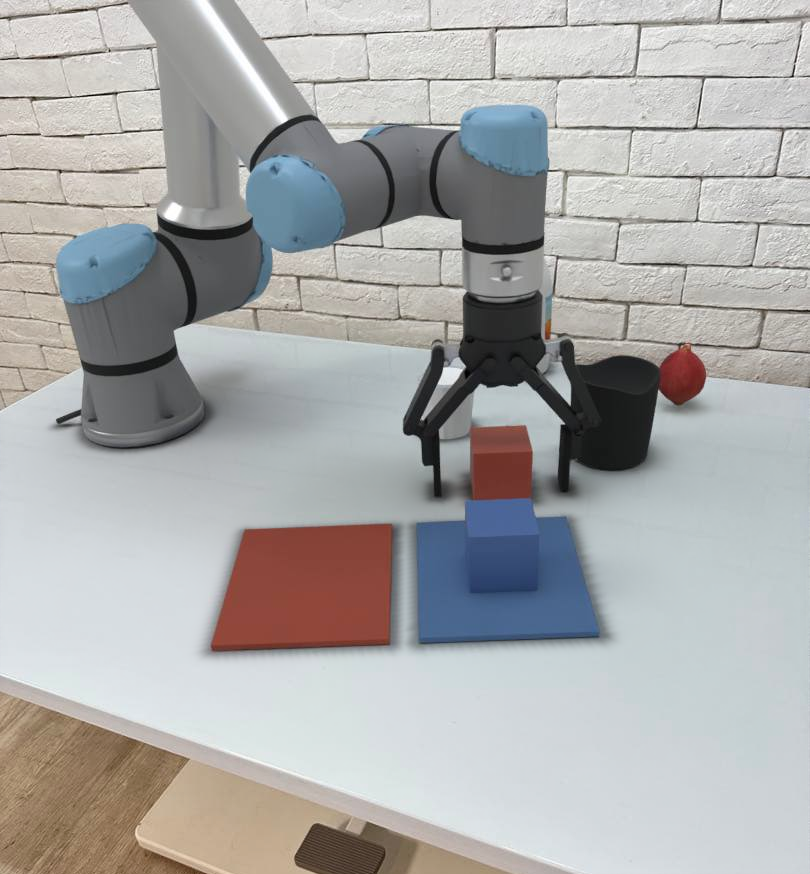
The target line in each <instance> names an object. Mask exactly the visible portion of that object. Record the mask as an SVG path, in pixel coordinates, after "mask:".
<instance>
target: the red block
mask: <svg viewBox="0 0 810 874" xmlns="http://www.w3.org/2000/svg"><path fill="white" fill-rule="evenodd" d="M533 455H534V451H533V447H532V443H531V439H530V436H529V431H528V428H527V425H526V424H522V425H521V424H520V425H519V424H518V425H500V426H497V425H495V426H476V427H475V426H474V427H472V426H471V428H470V431H469V479H470V485H471V495H472V501H475V500H499V499H523V498H531V499H532V483H533V460H534V459H533Z"/></svg>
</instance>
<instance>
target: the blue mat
mask: <svg viewBox="0 0 810 874" xmlns="http://www.w3.org/2000/svg"><path fill="white" fill-rule="evenodd" d="M536 521H537V526H538V530H539V534H540V536H539V558H538V580H537V590H532V591H506V592H480V593H470V592H469V584H468V574H467V564H466V553H465V520H443V521H418V522H416V553H417V554H416V555H417V557H416V558H417V559H416V561H417V604H418V607H417V609H418V610H417V611H418V643H419V644H427V643H429V644H430V643H459V642H483V641H484V642H486V641H507V640H508V641H509V640H510V641H511V640H536V639H563V638H564V639H566V638H567V639H568V638H591V637H592V638H593V637H596V638H597V637H600V627H599V625H598V621H597V617H596V614H595V611H594V607H593V604H592V601H591V597H590V594H589V590H588V586H587V584H586V579H585V577H584V573H583V571H582V566H581V563H580V560H579V557H578V556H579V555H578V553H577V550H576V547H575V546H576V545H575V543H574V540H573V536H572V532H571V528H570V526H569V522H568V519H567V516H565V515H564V516H545V517H544V516H543V517H536Z"/></svg>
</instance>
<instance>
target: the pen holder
mask: <svg viewBox="0 0 810 874" xmlns="http://www.w3.org/2000/svg"><path fill="white" fill-rule="evenodd" d="M575 364H576V366H577V368H578V370H579V372H580V374H581V377H582V379H583V381H584V383H585V385H586V387H587V389H588V392H589V394H590V396H591V398H592V400H593V402H594V404H595V407H596V409H597V411H598V413H599V415H600V418H601V421H602V422H601V425H600V426H598V427H589V428H587V429H585V433H584V435H583V436H582V442H581V455H580V457H579V459H575V460H576V461H578V462H579V463H581V464H582V465H584V466H587V467H590V468H594V469H598V470H605V471H606V470H607V471H619V470H626V469H631V468H634V467H635V466H638V465H639V464H641V463H642V462H643V461H644V460H645V459H646V457H647V456H648V454H649V453H648V452H649V448H650V442H651V436H652V431H653V426H654V420H655V413H656V406H657V401H658V395H659V384H660V378H661V370H660V369H659V367H660V366H658V365H657V364H656V363H654V362H652V361H650V360H648V359H645V358H642V357H638V356H634V355H633V356H632V355H626V354H619V355H612V356H609V357H607V358H604V359H601V360H599V361H597V362H593V363H589V364H582V363H575ZM570 406H571V407H572V408H573V410H574V411H575V412H576V413H577V414H579V413H581V412H584V411H583V409H582V406H581V404H580V402H579V400H578V398H577V396H576V394H575V392H574V390H573V388H572V385H571V384H570Z"/></svg>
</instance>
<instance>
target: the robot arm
mask: <svg viewBox="0 0 810 874" xmlns="http://www.w3.org/2000/svg"><path fill="white" fill-rule="evenodd" d="M125 1H126V3H127V4H128V5H129V7H130V8H131V9H132V11H133V13H134V14H135V15H136V16H137V18H138V19H139V21H140V22H141V24H142V25H143V26H144V27H145V29H146V30H147V32H148V33H149V34H150V36H151V37H152V38H153V40H154V41H155V49H156V61H157V75H158V86H159V97H160V109H161V110H160V111H161V122H162V123H161V124H162V135H163V145H164V146H163V147H164V148H163V149H164V161H165V171H166V172H165V174H166V185H167V193H166V194H165V195H164V196H163V197H162V198H161V199H160V200H159V201H158V202H157V204H156V219H157V230H155V231H153V230H152V228H150V227H148V226H147V225H145V224H142V223H119V224H116V225H112V226H110V227H109V226H104V227H99V228H97V229H93V230H89V231H88V232H85V233H83V234H81V235H78V236H77V237H74V238H72V239H71V240H69V241H68V242H66V243H65V244H64V245H63V246H62V247H61V248H60V249H59V251H58V253H57V255H56V258H55V269H56V275H57V281H58V286H59V287H58V289H59V294H60V298H61V299H62V300H63V302H64V303H63V304H64V307H65V311H66V315H67V319H68V322H69V326H70V328H71V333H72V336H73V339H74V342H75V346H76V351H77V354H78V356H79V357H78V358H79V361H80V365H81V368H82V372H83V381H82V382H83V383H82V395H81V406H80V407H81V408H80V409H77V410H75V411H72V412H70V413H67V414H64V415H63V416H62V415H61V416H60V417H57V418H56V419H55V422H56V424H57V425H60V424H63V423H65V422H67V421H70V420H73V419H75V418H78V417H80V421H81V422H80V423H81V426H82V429H83V432H84V435H85V437H86V438H87V439H88V440H89V441H91V442H92V443H95V444H98V445H101V446H106V447H113V448H135V447H144V446H150V445H155V444H159V443H163V442H166V441H170V440H173V439H176V438H178V437H180V436H182V435H185V434H186V433H188V432H190V431H191V430H192V429H194V428H195V427H197V426H198V425H200V423H201V421H202V420H203V419H204V417H205V406H204V402H203V397H202V394H200V391H199V390H198V388H197V387H196V384H195V383H194V380H193V379H192V377H191V376H190V373H188V370H187V368H186V367H185V364H184V363H183V362H182V359H180V355H179V352H178V346H177V342H176V337H175V335H176V334H175V331H176V330H178V329H181V328H183V327H187V326H190V325H192V324H195V323H198V322H200V321H203V320H207V319H209V318H212V317H215V316H219V315H220V314H223V313H225V312H226V313H230V312H234V311H236V310H239V309H242V307H244V306H245V305H247V304H249V303H252V302H253V301H256V300H257V299H258V298H259V297H261V296H262V295H263V294H264V293H265V291H266V290H267V288H268V286H269V284H270V281H271V278H272V273H273V267H274V266H273V264H274V257H273V256H274V255H273V250H275V251H276V252H279V253H283V254H296V253H301V252H307V251H311V250H316V249H324V248H326V247H330V246H332V245H333V244H334V243H336V242H339V241H342V240H345V239H348V238H350V237H354V236H356V235H360V234H362V233H364V232H368V231H375V230H378V229H380V228H381V229H382V228H384V227H387V226H389V225H393V224H397V223H399V222H403V221H405V220H409V219H412V218H415V217H433V218H440V219H448V220H453V221H454V220H455V221H461V223H460V224H461V225H460V226H461V278H462V279H461V280H462V282H461V283H462V288H463V289H464V290H465V291H466V292H465V293H464V294H463V295H462V338H461V341H460V342H459V343H458V344H457V343H444V341H443V340H442V339H439V338H436V339H434V340H433V341H432V342H431V348H430V359H429V360H430V361H429V363H428V365H427V367H426V369H425V370H426V371H425V373H424V375H423V378H422V380H421V382H420V384H419V383H418V386H417V388H416V390H415V392H414V394H413V396H412V400H411V401H410V403H409V405H408V408H407V410H406V412H405V414H404V416H403V418H402V431H403V432H402V433H403V435H405V436H407V437H411V436H415V437H417V438H418V439H419V440H420V449H421V463H422V465H423V467H432V475H433V476H432V477H433V479H432V480H433V496H434V497H442V475H441V474H442V471H441V469H442V468H441V441H440V440H441V439H439V429H440V428H441V427H442V426H443V424H444V423H445V422H446V421H447V420H448V418H449V417H450V416H451V415H452V414H453V413H454V411H455V410H456V409H457V408H458V407H459V406H460V404H461V403H462V402H463V401H464V400H465V399H466V397H467V396H468V395H469V394H471V393H473V392H474V393H475V391H476V389H477V388H478V387H479V386H480V385H482V386H485V387H486V389H491V388H498V387H500V386H504V387H509V388H514V387H519V385H520V384H522V383H524V382H526V383H527V385H528V386H529V387H530V388H531V389H532V390H533V391H534V392H536V393H537V395H539V397H540V398H541V399H542V400H543V401H544V402H545V403H546V405H547V406H548V407H549V408H550V409H551V410H552V411H553V412H554V413H555V415H556V416H557V417H558V418H559V419H560V420H561V421H562V423H563V424H561V423H560V426H559V427H560V429H559V443H558V446H559V447H558V463H557V464H558V465H557V482H558V485H559V488H560V491H561V492H569V489H570V487H569V486H570V472H571V461H572V460H576V459H579V457H580V455H581V442H582V436H583V435H584V433H585V429H587V428H589V427H598V426H600V425H601V422H602V421H601V418H600V415H599V413H598V411H597V409H596V407H595V404H594V402H593V400H592V398H591V396H590V394H589V392H588V389H587V387H586V385H585V383H584V381H583V379H582V377H581V374H580V372H579V370H578V368H577V366H576V364H577V363H576V355H575V345H574V343H573V342H574V341H573V340H572V338H571V336H570V334H568V333H567V332H563V333H560V334H559V335H558V337H556V338H551V339H549V340H543V339H542V336H541V327H542V301H543V296H542V294H541V293H540V291H539V289H540V288H541V287H542V285H543V267H544V259H545V234H546V232H545V224H546V223H545V221H546V206H547V205H546V202H547V188H548V176H549V175H548V174H549V170H550V158H549V157H550V156H549V143H548V142H549V140H548V138H549V135H548V130H549V128H548V119H547V116H546V114H545V112H544V111H543V110H541V109H540V108H539V107H536V106H534V105H527V104H494V105H483V106H478V107H472V108H469V109H467V110H466V111H464V112H463V114H462V116H461V118H460V126H459V130H455V129H454V130H453V129H443V128H442V129H441V128H431V127H420V126H419V127H418V126H412V125H411V126H410V125H409V124H406V123H405V124H404V123H403V124H402V123H398V124H395V125H377V126H374V127H372V128H370V129H368V130H367V131H366V132H365V134H364V135H363V136H362V137H361V138H360V139H354V140H350V141H346V142H340V143H338V142H337V141H336V140H335V139H334V137H333V136H332V134H331V133H330V131H329V130H328V128H327V127H326V125H324V123H323V122H322V121H321V119H320V118H319V117H318V116H317V114H316V113H315V111H314V110H313V108H312V107H311V105H309V102H308V101H307V100H306V99H305V97H304V96H303V94H302V93H301V91H300V90H299V89H298V87H297V86H296V84H295V83H294V82H293V81H292V79H291V78H290V76H289V75H288V73H287V72H286V71H285V69H284V67H282V65H281V64H280V62H279V61H278V59H277V58H276V57H275V55H274V54H273V52H272V51H271V50H270V48H269V47H268V45H267V44H266V42H265V41H264V40H263V39H262V37H261V36H260V34H259V33H258V31H257V30H256V29H255V27H254V26H253V24H252V23H251V22H250V20H249V19H248V17H247V16H246V15H245V13H244V12H243V10H242V9H241V8H240V7H239V5H238V3H237V2H236V0H125ZM240 161H241V162H242V164H243V165H244V166H245V168H246V169H247V171H248V172H249V173H250V174H249V175H248V178H247V180H246V185H245V198H244V197H243V196H242V195H241V184H240V182H241V180H240ZM272 249H273V250H272ZM545 353H550V356H552V359H553V361H555V362H558V363H559V362H560V363H561V365H562V368H563V371H564V373H565V375H566V377H567V379H568V382H569V383H570V386H571V385H572V388H573V390H574V392H575V394H576V396H577V398H578V400H579V402H580V404H581V406H582V409H583V411H584V412H581V413H579V414H577V413H576V412H575V411H574V410H573V408H572V407H571V404H569V402H568V401H567V400H566V399H565V398H564V397H563V396H562V395H561V393H560V392H559V391H558V390H557V389H556V388H555V387H554V386H553V384H552V383H551V382H550V381H549V380H548V379H547V378H546V377H545V376H544V373H541V372H540V370H539V369H538V368H537V365H538V363H539V362H540V361H541V359H542V358H543V357H544V355H545ZM457 358H459V359H460V361H461V363H462V364H463V365H464V367H465V369H464V370H463V371H462V372H461V374H460V376H459V378H458V379H457V380H456V382H455V383H454V384H453V385H452V386H451V388H450V389H449V390H448V391H447V392H446V394H445V395H444V396H443V397H442V398H441V400H440V401H439V402H438V403H437V404H436V406H435V407H434V408H433V409H432V410H431V411H430V413H429V414H428V415H427V416H426V417H425V419H422V418H423V413H424V411H425V409H426V407H427V405H428V403H429V401H430V399H431V397H432V395H433V392H434V390H435V388H436V386H437V384H438V382H439V380H440V378H441V375H442V372H443V367H448V366H449V365H452V362H453V361H454V359H457Z"/></svg>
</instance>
